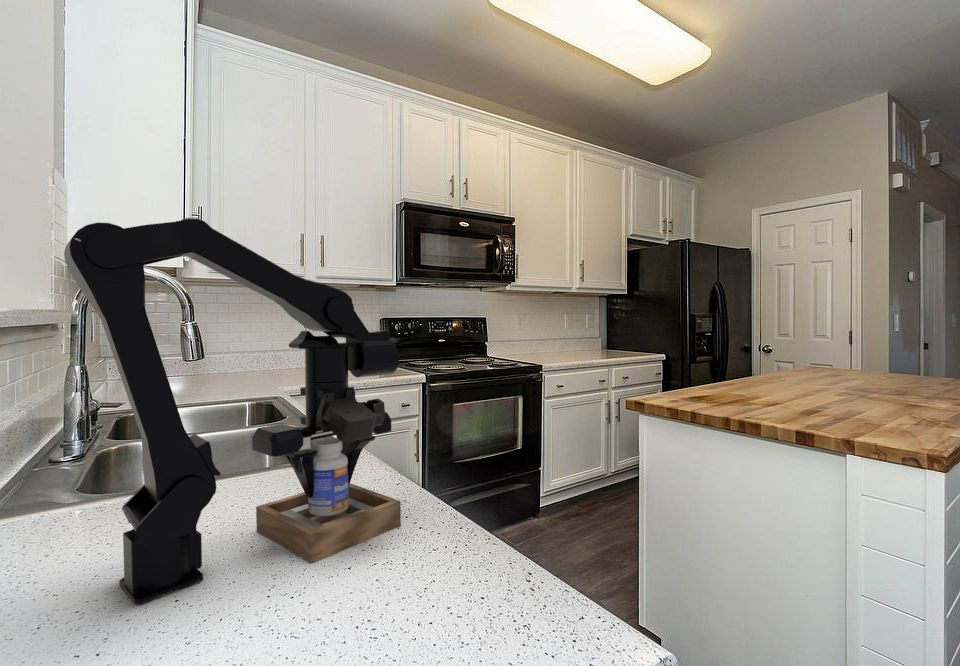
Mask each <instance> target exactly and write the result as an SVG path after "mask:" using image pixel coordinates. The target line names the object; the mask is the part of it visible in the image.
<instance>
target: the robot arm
mask: <svg viewBox="0 0 960 666" xmlns="http://www.w3.org/2000/svg"><path fill="white" fill-rule="evenodd" d="M63 256H64V262H65V265H66V267H67V269H68V270H69V272H70V273H71V275H72V277H73V279H74V280H75V281H76V283H77V285H78V287H79V288H80V290H81V292H82V293H83V295H84V297H85V298H86V300H87V301H88V302H89V303H90V305H91V307H92V308H93V309H94V311H95V312H96V314H97V315H98V317H99V319H100V321H101V324H102V326H103V329H104V332H105V333H104V334H105V335H106V338H107V342H108V344H109V347H110V350H111V353H112V356H113V358H114V361H115V364H116V367H117V370H118V373H119V375H120V378H121V381H122V385H123V387H124V390H125V392H126V396H127V398H128V402H129V405H130V408H131V409H132V413H133V416H134V419H135V422H136V425H137V427H138V430H139V433H140V437H141V466H142V474H143V482H144V484H142V486H140V487H139V489H138V490H137V491H136V492H135V493H134V494H133V495H132V496H131V497H130V498H129V499H128V500H127V501H126V502H125V503H124V504H123V505H122V506H121V510H122V512H123V514H124V516H125V518H126V519H127V522H128V523H129V524H130V525H131V526H132V529H131V530H128V531H124V532H123V533H122V539H123V544H122V545H123V546H122V547H123V576H124V577H122V578H120V579H119V582H118V583H119V586H120V587H121V588H122V589H123V591H124V592H125V593H126V595H127V596H128V597H129V598H130V599H131V600H132V602H133V603H134V604H136V605H138V604H142V603H145V602H149V601H150V600H153V599H156V598H159V597H161V596H163V595H166V594H168V593H169V594H170V593H171V592H174V591H177V590H179V589H181V588H184V587H187V586H189V585H192V584H195V583H198V582H199V581H202V580H203V579H204V573H202V572H201V571H200V569H201V568H202V566H203V550H202V549H203V548H202V547H203V546H202V533H201V532H200V531H198V530H197V525H198V522H199V520H200V516H201V514H202V511H203V510H204V509H205V507H207V506H208V504H210V503H211V501H212V499H213V497H214V495H215V494H216V491H217V483H216V478H215V476H216V477H219V476H221V472H220V470H218V469H217V468H216V466H215V464H214V460H213V454H212V452H213V451H212V447H211V443H210V441H208V440H206V439H205V438H203V437H201V436H199V435H197V434H196V433H194V434H192V435H190V436H189V434H188V433H187V431H186V429H185V428H184V424H183V421H182V418H181V416H180V412H179V409H178V405H177V403H176V399H175V396H174V394H173V391H172V388H171V385H170V382H169V378H168V375H167V372H166V369H165V366H164V363H163V360H162V357H161V353H160V350H159V348H158V344H157V342H156V339H155V335H154V332H153V330H152V326H151V324H150V320H149V317H148V315H147V311H146V277H145V268H144V267H145V266H146V265H151V264H156V263H159V262H164V261H168V260H172V259H177V258H181V257H186V258H189V259H192V260H194V261H195V262H197V263H199V264H201V265H203V266H205V267H207V268H209V269H211V270H212V271H215V272H217V273H219V274H220V275H223V276H224V277H227V278H229V279H231V280H232V281H234V282H236V283H238V284H240V285H242V286H244V287H246V288H248V289H250V290H252V291H254V292H256V293H258V294H259V295H262V296H264V297H266V298H268V299H269V300H272V301H273V302H274V303H276V304H277V305H279V306H280V307H281V308H282V309H283V310H284V311H285V313H287V315H289V317H291V318H292V319H294V320H295V321H297V322H298V323H299V324H300V325H302V326H303V328H304V327H305V328H306V329H308V330H301V331H300V332H299V334H298V335H297V337H296V338H294V339H293V340H291V342H289V344H288V347H289V348H291V349H299V350H304V366H305V367H304V376H305V377H304V380H305V384H304V385H305V386H302V387H299V388H300V391H299V393H300V395H301V396H305V416H300V424H301V425H303V427H296V426H293V425H288V424H284V423H281V424H276V425H275V424H274V425H268V426H263V427H258V428H257V429H255V432H254V433H253V434H252V435H253V436H252V437H251V439H252V440H251V441H252V443H251V445H252V447H251V449H252V451H255V452H258V453H261V454H264V455H267V456H269V457H281V456H284V457H285V458H286V459H287V461H288V462H289V464H290V466H291V468H292V469H293V471H294V474H295V475H296V477H297V479H298V481H299V484H300V486H301V487H302V489H303V492H305V494H306V496H307V497H309V498H311V497H313V491H314V475H313V459H314V457H315V456H316V454H317V450H314V449H312V441H315V440H319V439H324V438H330V437H332V436H336V438H338V439H339V440H340V441H342V447H343V448H342V450H341V453H342V454H344V455H345V456H346V457H347V459H348V486H349V484H350V483H351V481H352V477H353V475H354V472H355V469H356V466H357V463H358V461H359V457H360V455H361V453H362V451H363V449H364V448H365V447H366V446H368V444H369V443H371V442H372V441H375V439H376V436H375V435H381V434H385V433H389V432H392V427H393V426H392V424H393V423H392V418H391V416H390V415H389V412H386V410H385V409H386V408H385V402H384V401H383V400H382V399H380V398H374V399H373V398H372V399H368V400H367V401H362V402H359V401H357V397H356V391H355V387H354V386H349V372H350V373H351V374H352V376H353V377H355V378H365V377H376V376H386V375H392V374H394V373H395V372H396V371H397V370H398V367H399V364H400V352H399V351H398V348H397V346H396V343H395V341H394V340H393V339H392V335H391V333H392V332H391V331H390V330H375V331H369V330H368V328H367V326H365V324H364V323H363V321H362V320H361V318H360V316H359V315H358V314H357V312H356V311H355V307H354V304H353V303H354V302H353V298H352V297H351V295H349V294H348V293H347V292H345V291H344V290H342V289H340V288H339V289H338V288H336V287H334V286H331V285H327V284H325V283H322V282H318V281H314V280H310V279H306V278H303V277H302V276H298V275H295V274H294V273H292V272H290V271H289V270H287V269H285V268H283V267H282V266H279V265H278V264H276V263H274V262H272V261H270V260H269V259H267V258H265V257H263V256H262V255H260V254H258V253H257V252H255V251H253V250H252V249H250V248H248V247H246V246H244V245H242V244H241V243H239V242H237V241H235V240H234V239H232V238H231V237H229V236H226V235H225V234H223V233H222V232H221V231H217V230H216V229H215V228H213V227H211V226H210V225H209V223H207V222H206V221H204V220H202V219H200V218H198V217H186V218H182V219H181V220H175V221H171V222H170V221H169V222H159V223H150V224H142V225H137V226H131V227H125V228H123V227H122V226H120V225H117V224H114V223H110V222H93V223H90V224H86V225H84V226H82V227H80V228H79V229H77V231H76V232H75V233H74V234H73V236H71V238H70V240H69V241H68V242H67V244H66V245H65V247H64V252H63ZM311 331H313V332H321V333H323V334H325V335H314V334H312V332H311ZM336 338H339V339H340V338H341V339H342V338H344V339H345V342H338V340H337V339H336ZM304 426H305V427H304ZM373 434H375V435H373Z"/></svg>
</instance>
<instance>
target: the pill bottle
mask: <svg viewBox="0 0 960 666" xmlns="http://www.w3.org/2000/svg"><path fill="white" fill-rule="evenodd" d="M342 448H343V447H342V441H340V440H339V439H338V438H337V437H324V438H319V439H315V440H313V441H312V442H311V449H314V450H317V454H316V456H315V457H314V459H313V475H314V491H313V497H311V498H309V497H308V507H309V512H310V513H311V514H312V515H315V516H320V517H326V516H333V515H337V514H340V513H342V512H344V511H345V510H347V508H348V506H349V495H348V459H347V457H346V456H345V455H344V454H342V453H341V450H342Z"/></svg>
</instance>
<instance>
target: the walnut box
mask: <svg viewBox="0 0 960 666" xmlns="http://www.w3.org/2000/svg"><path fill="white" fill-rule="evenodd" d="M348 495H349V506H348V508H347V510H345V511H344V512H342V513H340V514H337V515H333V516H326V517H320V516H315V515H312V514H311V513H310V512H309V507H308V497H307V496H306V494H305V492H304V491H303V492H300V493H297V494H294V495H290V496H288V497H284V498H280V499H277V500H274V501H270V502H267V503H264V504H260V505H256V508H255V511H256V512H255V513H256V515H255V516H256V517H255V518H256V519H255V520H256V521H255V522H256V532H257V533H258V534H260V535H262V536H264V537H265V538H267V539H269V540H271V542H274V543H276V544H278V545H279V546H280V547H283V548H284V549H286V550H287V551H289V552H291V553H293V554H295V555H297V556H298V557H299V558H301V559H304V560H305V561H307V562H308V563H309V564H313V563H315V562H318V561H320V560H322V559H323V560H324V559H325V558H328V557H330V556H331V555H335V554H336V553H339V552H341V551H344V550H345V549H348V548H350V547H353V546H357V544H361V543H362V542H364V541H365V542H366V541H367V540H370V539H372V538H374V537H377V536H379V535H381V534H384V533H386V532H388V531H391V530H393V529H395V528H398V527H401V525H402V523H401V521H402V519H401V511H402V509H401V500H399V499H397V498H394V497H390V496H387V495H384V494H383V493H378V492H376V491H373V490H371V489H368V488H365V487H362V486H359V485H356V484H354V483H351V482H350V484H349V486H348Z"/></svg>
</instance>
